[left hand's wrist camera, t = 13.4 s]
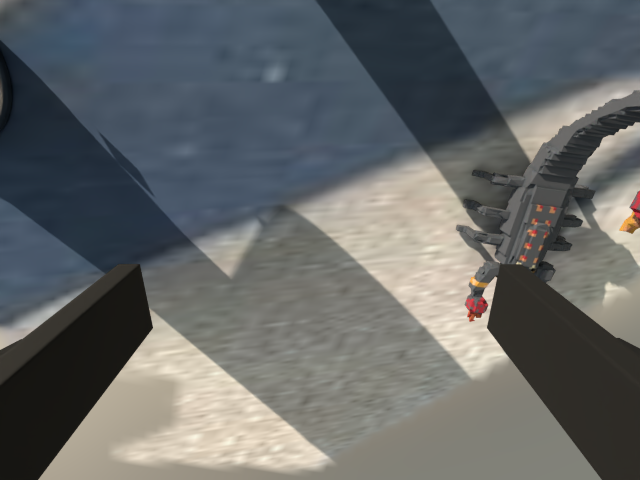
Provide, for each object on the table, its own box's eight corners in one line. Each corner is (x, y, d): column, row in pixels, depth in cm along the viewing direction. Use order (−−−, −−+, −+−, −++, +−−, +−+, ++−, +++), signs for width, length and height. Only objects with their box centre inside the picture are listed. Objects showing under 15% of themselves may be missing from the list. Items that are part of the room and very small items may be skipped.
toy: (619, 103, 37) (877, 100, 20) (530, 314, 46) (653, 435, 29) (499, 84, 36) (658, 64, 19) (433, 302, 46) (501, 418, 29)
